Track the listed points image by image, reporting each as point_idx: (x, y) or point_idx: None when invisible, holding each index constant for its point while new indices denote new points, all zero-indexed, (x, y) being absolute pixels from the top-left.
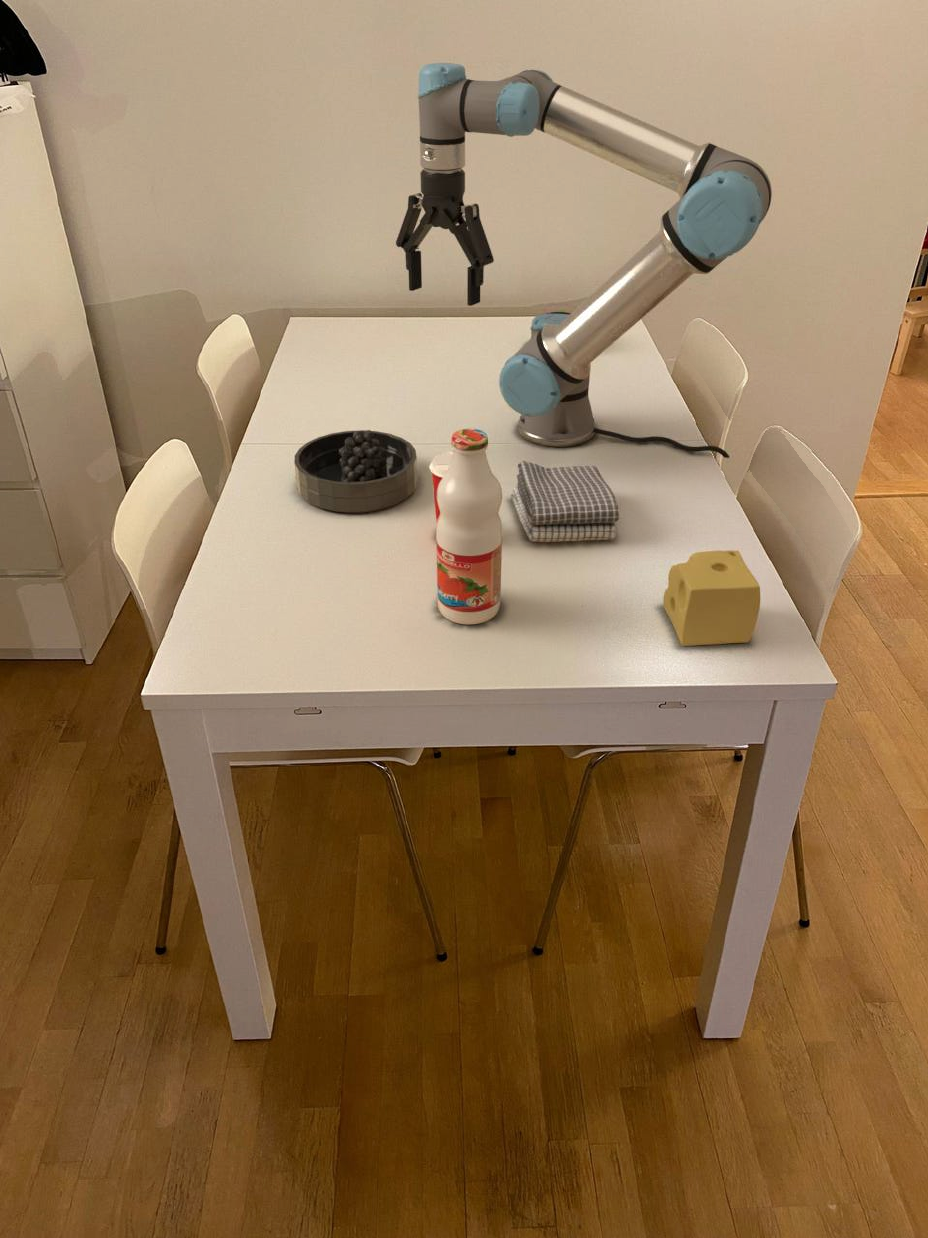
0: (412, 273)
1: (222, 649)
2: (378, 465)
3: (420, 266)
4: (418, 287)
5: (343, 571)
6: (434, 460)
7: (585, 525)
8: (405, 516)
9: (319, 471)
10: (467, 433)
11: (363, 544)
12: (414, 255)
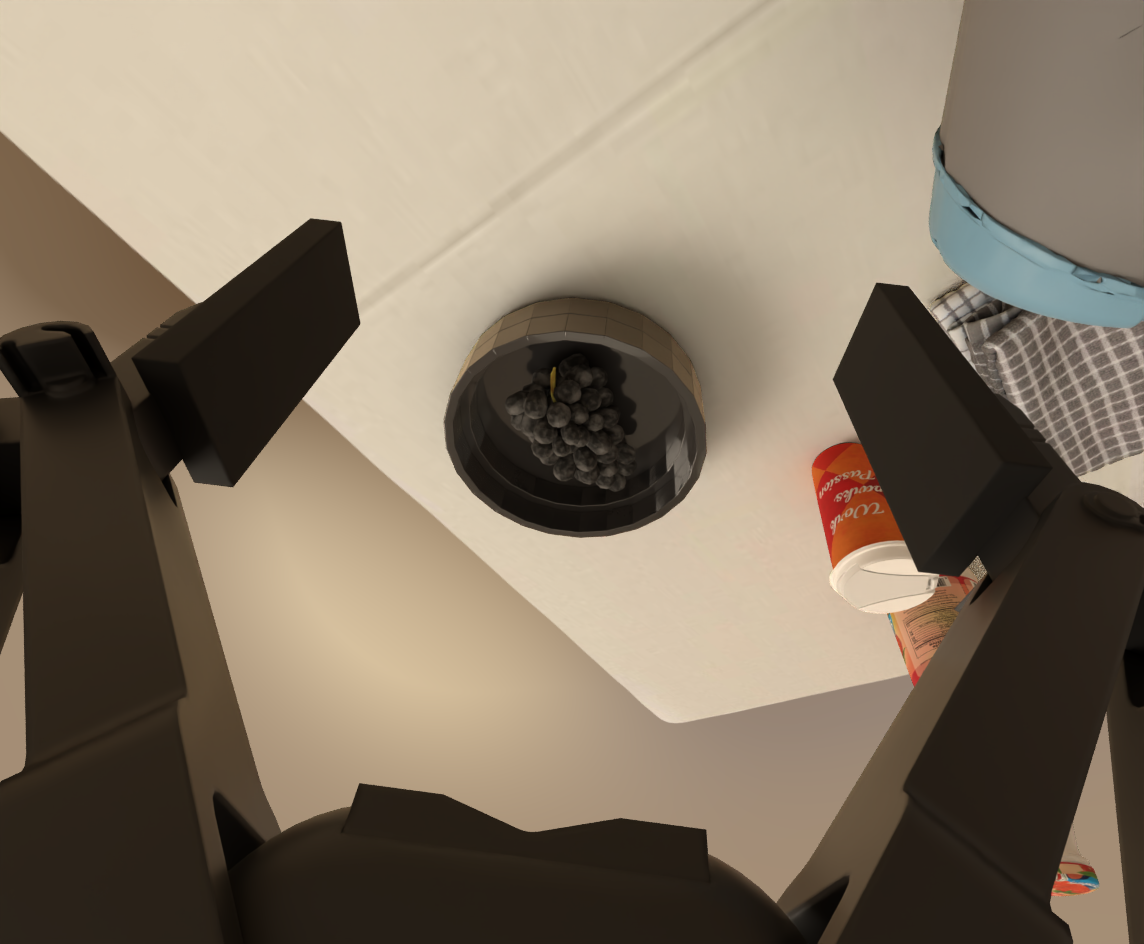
0: (310, 379)
1: (681, 688)
2: (623, 431)
3: (267, 303)
4: (344, 262)
5: (717, 582)
6: (847, 599)
7: None
8: (726, 451)
9: (483, 409)
10: (1055, 885)
11: (706, 532)
12: (230, 437)
